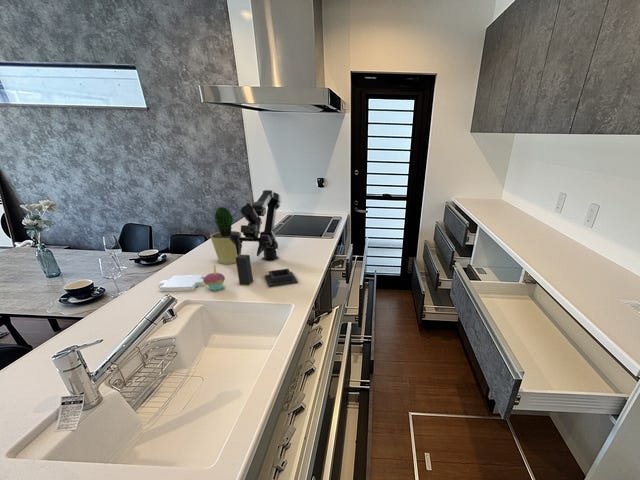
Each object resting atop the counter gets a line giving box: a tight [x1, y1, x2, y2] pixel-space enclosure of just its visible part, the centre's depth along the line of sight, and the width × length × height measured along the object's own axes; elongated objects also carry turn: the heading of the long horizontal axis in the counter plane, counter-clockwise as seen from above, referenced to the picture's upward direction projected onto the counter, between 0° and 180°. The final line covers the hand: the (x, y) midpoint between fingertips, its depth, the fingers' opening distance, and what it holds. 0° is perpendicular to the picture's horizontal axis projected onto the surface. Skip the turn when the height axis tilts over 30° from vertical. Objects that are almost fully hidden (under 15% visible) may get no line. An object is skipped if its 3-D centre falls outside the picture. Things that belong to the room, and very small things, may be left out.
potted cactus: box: [209, 206, 243, 265], centre depth 162 cm, size 15×15×30 cm
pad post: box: [235, 254, 254, 286], centre depth 139 cm, size 4×4×13 cm
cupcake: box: [203, 264, 226, 291], centre depth 133 cm, size 9×8×12 cm
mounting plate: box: [159, 274, 206, 292], centre depth 137 cm, size 18×13×2 cm
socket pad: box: [264, 268, 298, 288], centre depth 145 cm, size 13×13×4 cm
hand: (247, 255), depth 142 cm, fingers open, 9 cm apart
